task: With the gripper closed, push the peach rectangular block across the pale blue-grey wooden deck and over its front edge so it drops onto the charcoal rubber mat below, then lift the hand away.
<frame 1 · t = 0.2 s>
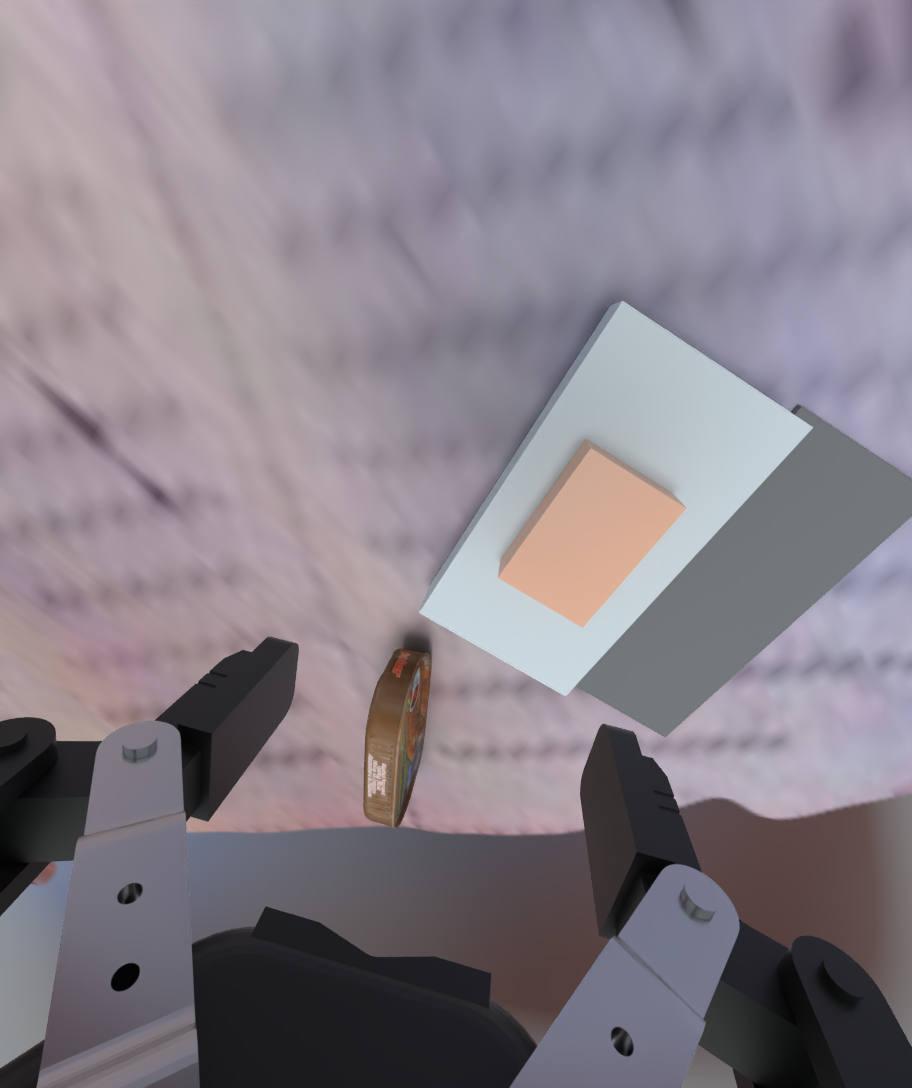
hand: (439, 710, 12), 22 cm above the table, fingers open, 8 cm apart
peach rectangular block: (582, 528, 29), point 4 cm above the table, touching deck
mat: (719, 594, 34), on the table
tin: (410, 699, 42), on the table
deck: (582, 510, 33), on the table
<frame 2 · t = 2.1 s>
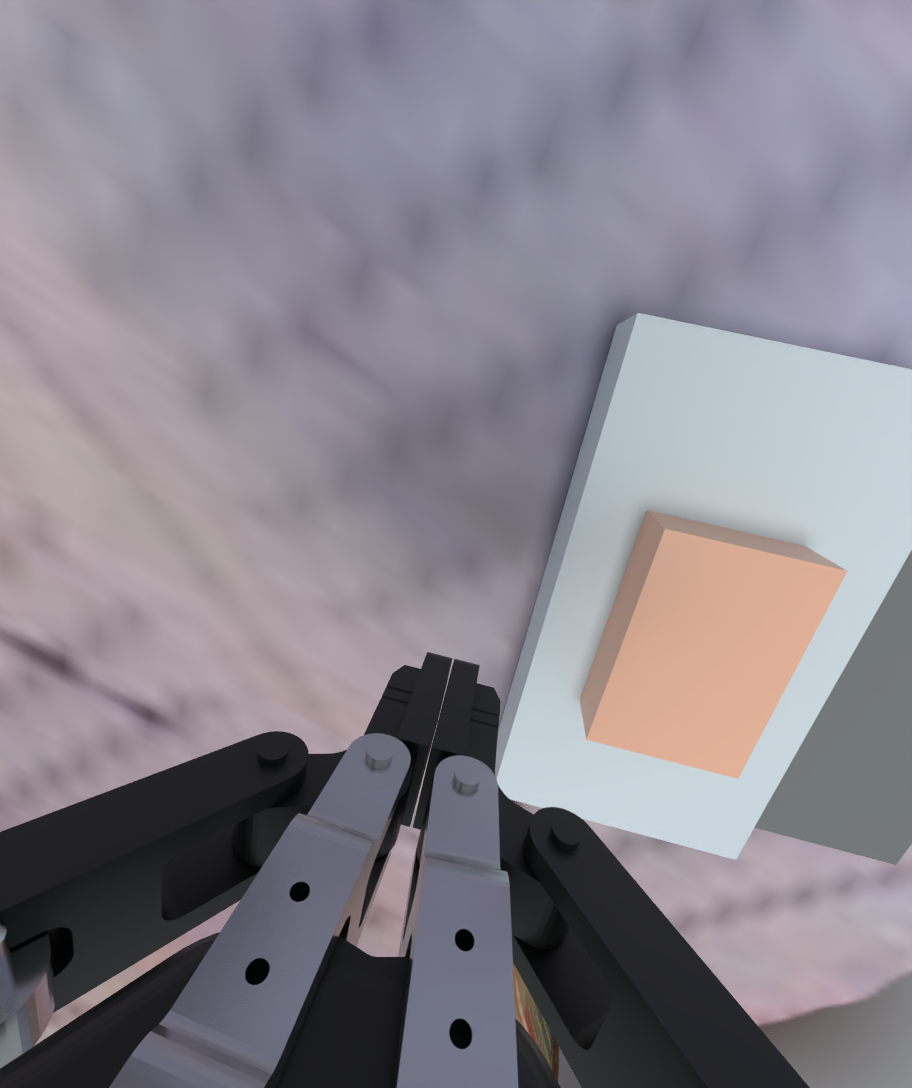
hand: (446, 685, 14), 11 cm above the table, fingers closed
peach rectangular block: (682, 630, 20), point 4 cm above the table, touching deck
mat: (909, 650, 23), on the table
tin: (517, 883, 31), on the table
deck: (667, 592, 24), on the table
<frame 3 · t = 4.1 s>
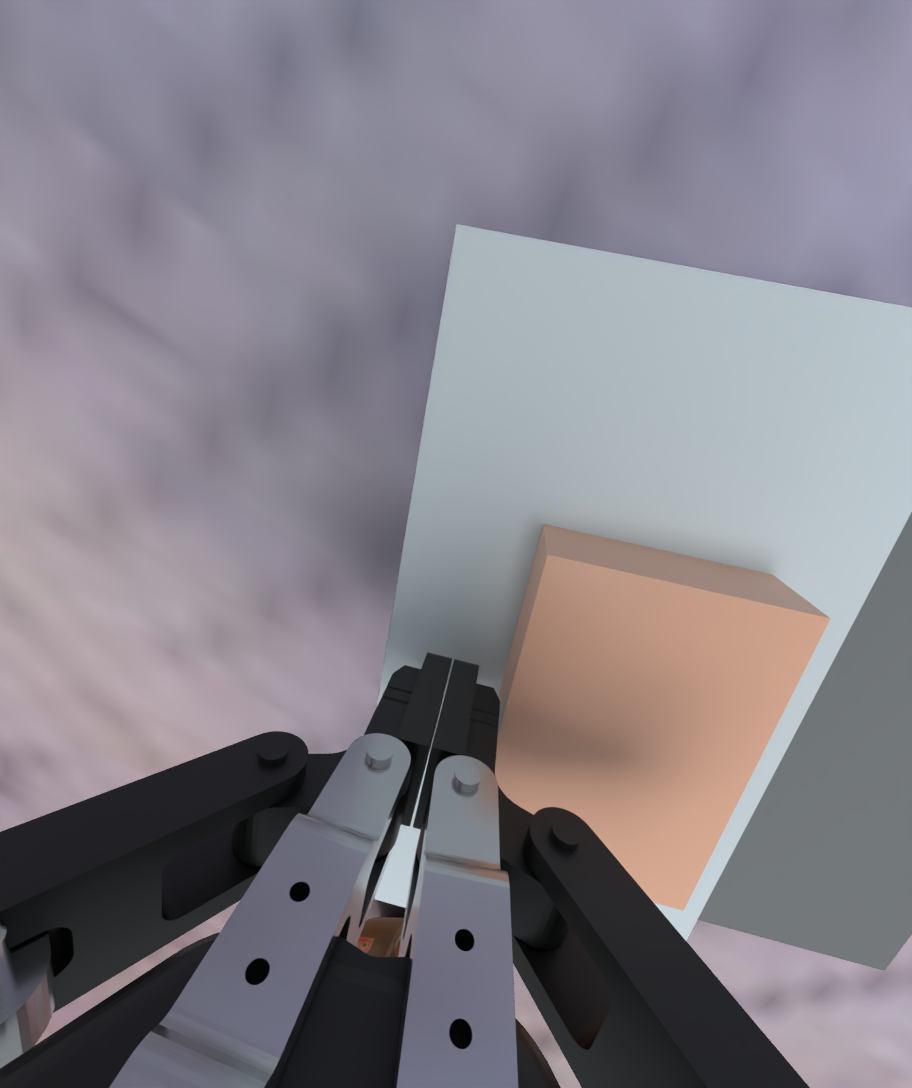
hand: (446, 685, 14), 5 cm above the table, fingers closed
peach rectangular block: (606, 691, 14), point 4 cm above the table, touching gripper
mat: (891, 700, 17), on the table
tin: (422, 974, 26), on the table
deck: (571, 624, 18), on the table
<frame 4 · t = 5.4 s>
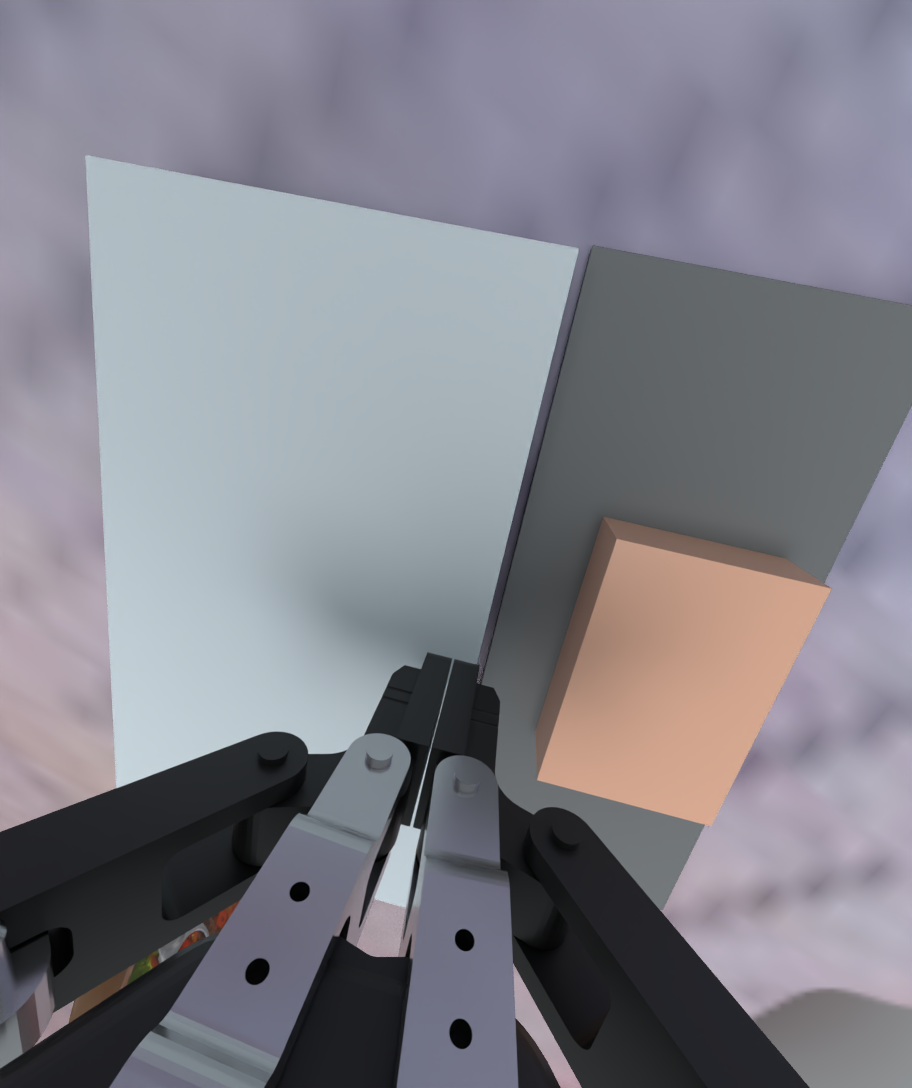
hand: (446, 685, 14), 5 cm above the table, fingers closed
peach rectangular block: (667, 694, 15), point 3 cm above the table, tilted 180°, touching mat
mat: (632, 640, 18), on the table
tin: (256, 926, 26), on the table
deck: (334, 568, 19), on the table
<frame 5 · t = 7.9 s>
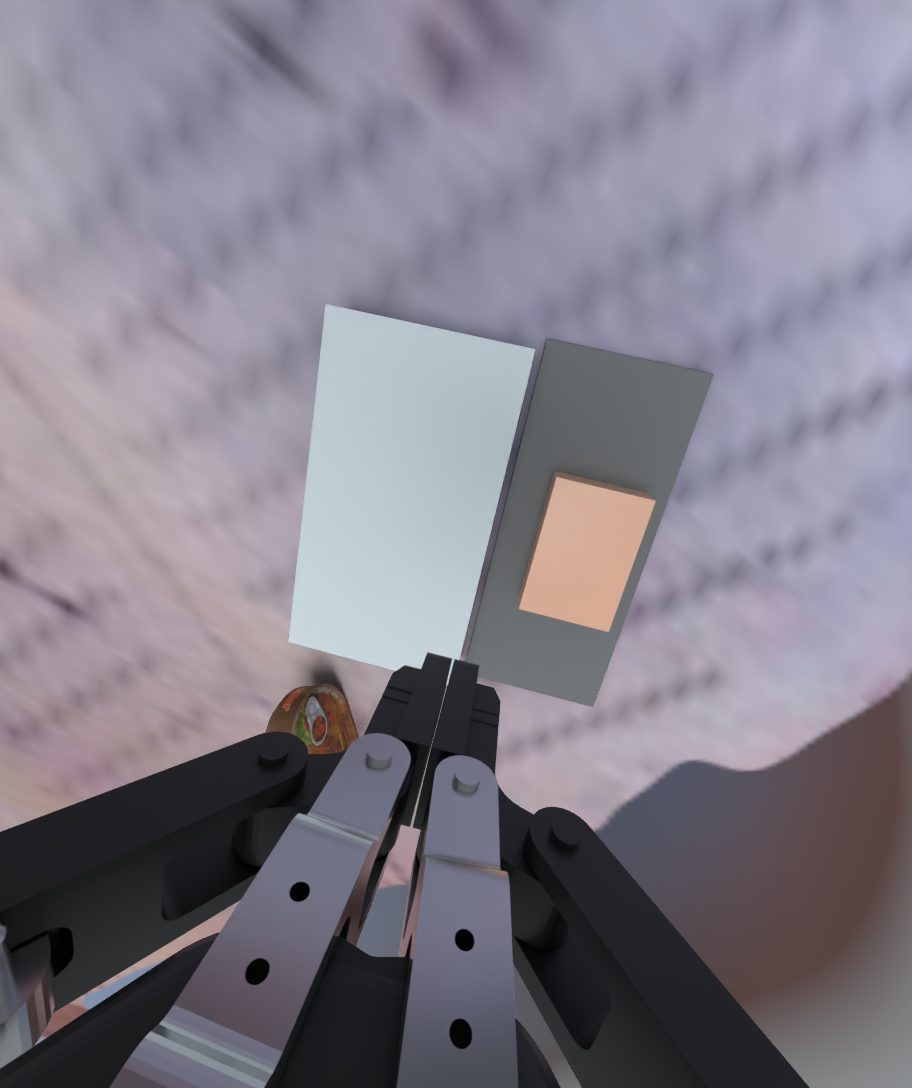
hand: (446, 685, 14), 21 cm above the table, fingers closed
peach rectangular block: (583, 557, 30), point 3 cm above the table, tilted 180°, touching mat
mat: (571, 540, 33), on the table
tin: (343, 739, 41), on the table
deck: (410, 501, 34), on the table
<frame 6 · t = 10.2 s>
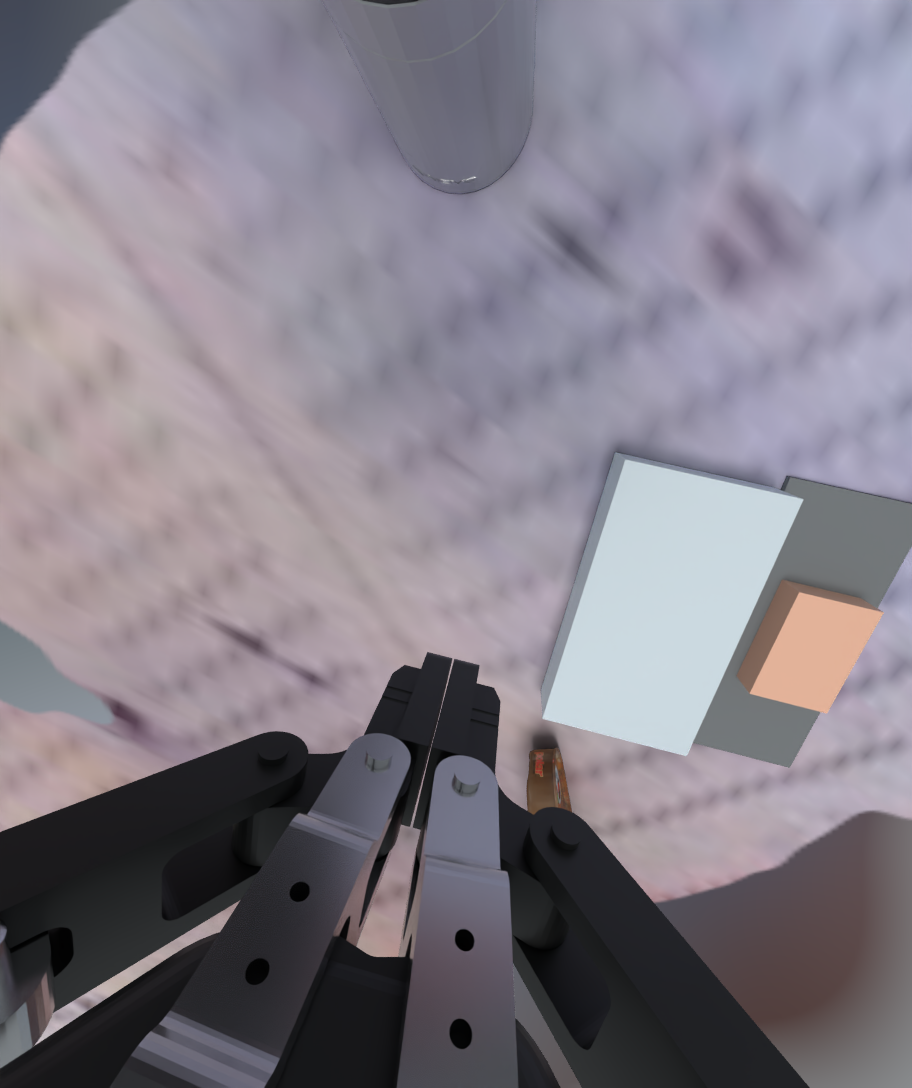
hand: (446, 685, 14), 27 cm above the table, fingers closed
peach rectangular block: (813, 654, 36), point 3 cm above the table, tilted 180°, touching mat
mat: (786, 632, 39), on the table
tin: (551, 790, 48), on the table
deck: (646, 599, 40), on the table
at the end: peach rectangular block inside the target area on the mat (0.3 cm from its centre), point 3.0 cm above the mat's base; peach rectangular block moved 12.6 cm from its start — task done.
